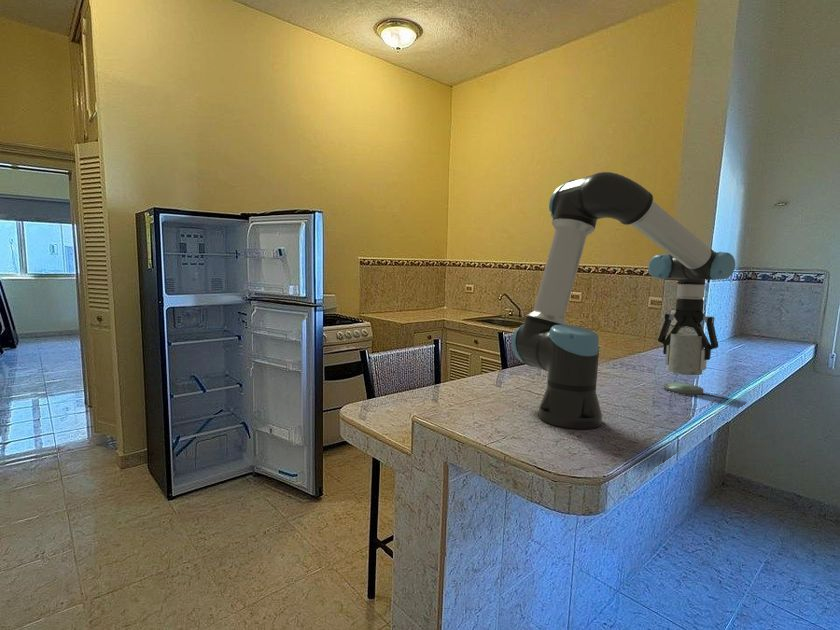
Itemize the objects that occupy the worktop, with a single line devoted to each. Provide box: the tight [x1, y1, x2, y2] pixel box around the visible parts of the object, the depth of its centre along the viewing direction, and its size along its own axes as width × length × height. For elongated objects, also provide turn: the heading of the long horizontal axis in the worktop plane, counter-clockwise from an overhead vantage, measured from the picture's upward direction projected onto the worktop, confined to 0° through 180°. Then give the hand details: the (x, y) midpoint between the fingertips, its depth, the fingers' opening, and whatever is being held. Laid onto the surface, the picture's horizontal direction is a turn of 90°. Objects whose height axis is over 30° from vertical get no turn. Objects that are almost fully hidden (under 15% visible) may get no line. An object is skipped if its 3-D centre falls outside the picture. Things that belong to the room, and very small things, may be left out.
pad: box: [663, 382, 704, 396], centre depth 142 cm, size 11×11×2 cm
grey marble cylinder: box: [667, 332, 705, 376], centre depth 141 cm, size 10×10×12 cm
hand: (685, 366), depth 142 cm, fingers closed on grey marble cylinder, 9 cm apart
